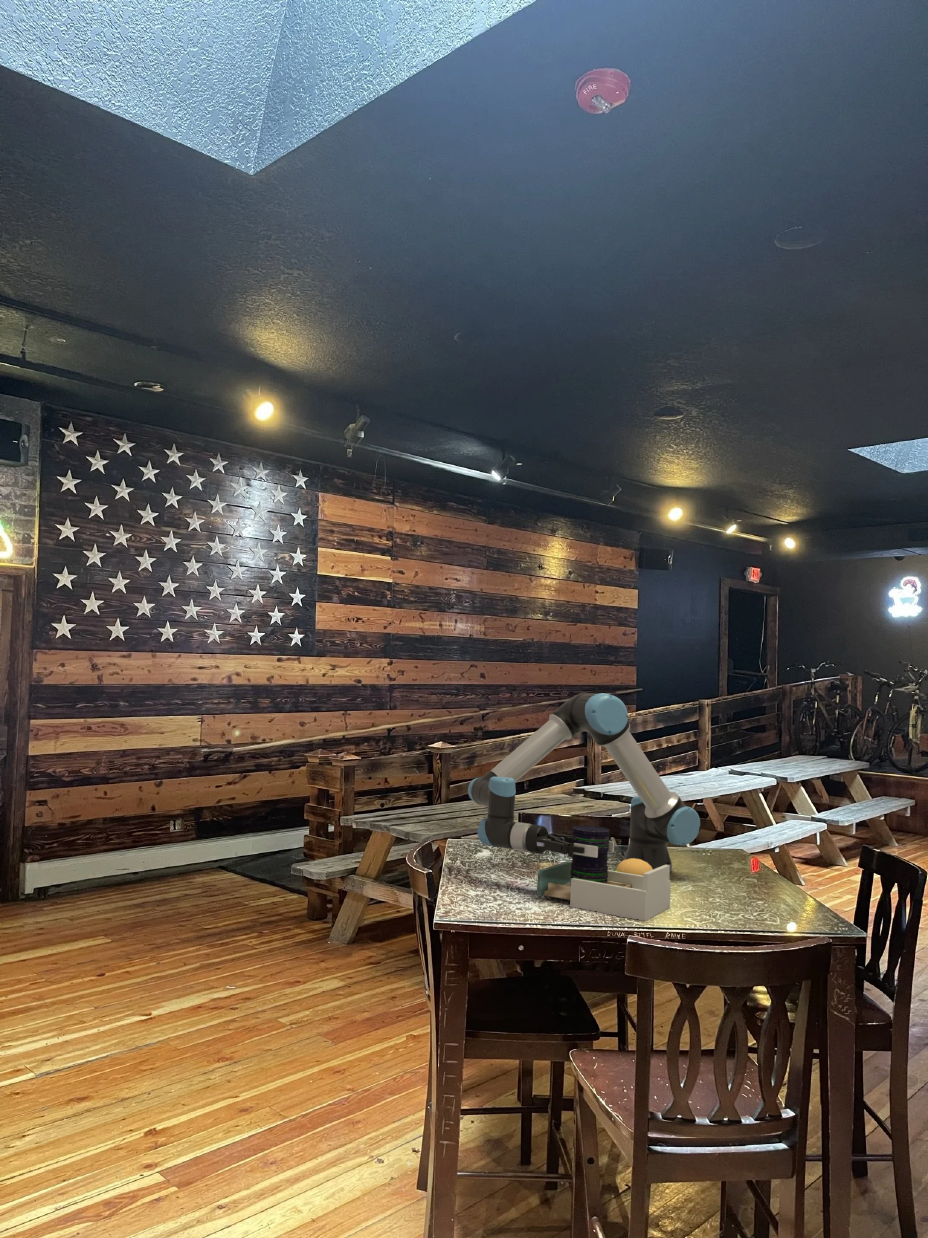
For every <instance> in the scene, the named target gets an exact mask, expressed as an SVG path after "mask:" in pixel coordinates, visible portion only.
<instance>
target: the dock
mask: <svg viewBox="0 0 928 1238" xmlns="http://www.w3.org/2000/svg"><path fill="white" fill-rule="evenodd" d="M607 873H608V878H607V881H613V882H618V883H624V884H630V885H632V888H628V887H622V886H616V885H611V884H605V883H599V882H593V881H588V880H582V879H576V878H572V879H571V896H570V900H569V901H570V903H569V907H570V908H574V907H576V908H575V909H579V908H582V909H581V910H585V911H590V910H591V911H590V912H595V911H597V912H596V913H599V914H600V913H601V914H607V915H610V914H612V915H611V916H615V915H616V917H621V916H622V917H621V918H627V919H631V918H632V919H631V920H636V919H639V920H638V921H641V920H642V921H641V922H646V921H648V920H650V919H651V918H653V916H654V917H656V916H657V915H659V914H661V913H664V912H665V911H667V910H669V909H671V887H672V886H671V885H672V880H671V879H670V873H671V872H670V865H663V866H661V867H658V868H656V869H653V870H651V871H648V872H646V873H643V876H641V875H635V874H629V873H623V872H617V871H615V870H611V869H608V872H607ZM649 918H650V919H649ZM647 919H648V920H647Z"/></svg>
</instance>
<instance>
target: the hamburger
mask: <svg viewBox="0 0 928 1238" xmlns="http://www.w3.org/2000/svg"><path fill="white" fill-rule="evenodd" d="M651 870H653V869H652V867H651V866H650V865H649V864H648V863H647V862H645V861H643V860H641V859H635V858H631V859H627V860H624V859H623V860H622V861H621V862H619V863H618V865H617V867H616V869H615V870H614V871H617V872H623V873H629V874H635V875H641V876H643V873H646V872H648V871H651Z"/></svg>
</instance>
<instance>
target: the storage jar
mask: <svg viewBox="0 0 928 1238" xmlns="http://www.w3.org/2000/svg"><path fill="white" fill-rule="evenodd" d="M572 836H573V837H572V844H573V846H574V843H577V844H584V845H591V846H597V847H598V857H597V858H595V857H589V856H583V855H576V854H573V853H572V857H571V862H572V863H571V871H570V875H571V879H572V878H576V879H582V880H588V881H593V882H599V883H605V884H607V878H608V873H607V872H608V870H609V867H608V854H609V852H608V851H609V841H610V829H609V828H606V827H603V826H597V825H596V826H595V825H574V826H572ZM570 885H571V882H570Z"/></svg>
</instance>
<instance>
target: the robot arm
mask: <svg viewBox="0 0 928 1238" xmlns="http://www.w3.org/2000/svg"><path fill="white" fill-rule="evenodd" d="M628 715H629V712H628V709H627V706H626V705H625V703H624V702H623V701H622V700H621V699H620V698H619V697H617V696H615V695H612V694H609V693H603V692H601V693H590V692H589V693H588V692H585V693H584V692H583V693H579V694H576V695H574V696H573V697H570V698H569V699H568V700H567V701H565V702H563V704H561V705H560V706H559V707H558V708H557V709H555V710H554V711H553V712H552V713H550V715H549V716H548V721H546V722H545V723H544V724H543V725H542V726H541V727H540V728H538V729H537V730H536V731H535V732H534V733H532V734H531V735H530V736H529V737H528V738H527V739H526V740H524V741H523V742H522V743H521V744H520V745H519V746H517V748H515V749H514V750H513V751H512V752H511V753H510V754H508V755H507V756H506V757H504V758H503V759H502V760H501V761H500V762H498V764H496V766H494V767H493V768H492V769H491V770H489V771H488V772H487V773H486V774H484V775H483V776H480V777H476V778H474V779H472V780H471V781H470V783H469V784H468V787H467V793H468V797H469V799H470V800H472V802H475V803H476V804H477V805H481V806H484V807H486V808H487V817H484V818H482V819H481V820H480V822H479V824H478V827H477V837H478V840H479V841H480V843H481V844H482V845H485V846H490V847H493V848H502V849H507V850H513V851H514V850H515V851H518V853H520V854H521V853H523V852H526V853H527V852H529V853H531V854H532V853H533V854H537V855H542V854H543V853H544V852H545V851H548V852H553V853H556V854H562V855H567V857H571V858H572V854H576V855H583V856H589V857H595V858H597V857H598V847H597V846H591V845H584V844H577V843H574V846H573V844H572V837H573V836H572V835H571V834H564V833H563V834H562V833H555V832H552V833H549V831H548V829H547V827H546V826H544V825H540V824H539V825H538V824H531V823H526V822H519V821H515V803H516V793H517V790H516V782H518V780H520V779H522V777H523V776H525V775H526V774H527V773H528V772H529V771H530V770H531V769H532V768H534V767H535V766H536V765H537V764H538V763H540V761H542V760H543V759H544V758H546V756H548V755H549V754H550V753H551V752H552V751H554V749H556V748H557V747H558V746H559V745H560V744H562V743H563V742H564V741H565V740H568V741H569V740H571V739H572V738H573V737H575V736H576V735H578V734H581V733H583V732H587V733H589V735H590V736H591V737H592V739H593V741H594V742H595V743H596V745H597V746H598V747H603V748H605V750H606V751H607V752H608V753H609V756H610V757H611V758H612V759H613V760H614V762H615V764H616V765H617V767H618V768H619V769H620V771H621V773H622V774H623V775H624V777H625V779H626V780H627V781H628V782H629V784H630V786H631V787H632V788H633V790H634V791H635V793H636V794H637V795H636V796H633V797H632V798H631V800H630V806H629V807H630V820H629V821H630V825H629V842H628V843H629V844H628V847H627V849H626V851H625V855H624V858H623V860H627V859H631V858H635V859H641V860H643V861H645V862H647V863H648V864H649V865H650V866H651V867H652V869H656V868H658V867H661V866H663V865H670V873H671V872H673V864H672V860H671V856H670V852H669V849H668V843H670V844H672V845H676V846H686V845H689V844H691V843H692V842H694V840H695V839H696V838H697V837H698V835H699V831H700V827H701V819H700V816H699V814H698V812H697V811H696V810H695V809H694V808H692V807H690V806H686V805H685V803H684V802H683V801H682V798H680V796H679V794H678V793H677V792H675V791H670V790H669V789H668V787H667V785H666V784H665V782H664V781H663V779H662V778H661V776H660V775H659V774H658V772H657V771H656V770H655V768H654V766H653V765H652V763H651V762H650V759H648V756H646V754H645V753H644V752H643V750H642V749H641V747H640V746H639V744H638V743H637V741H636V739H635V738H634V737H633V735H632V734H631V732H630V728H631V724H630V721H629V720H628V719H629V718H628ZM614 852H615V841H612V840H611V841H610V840H609V851H608V853H614Z"/></svg>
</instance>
